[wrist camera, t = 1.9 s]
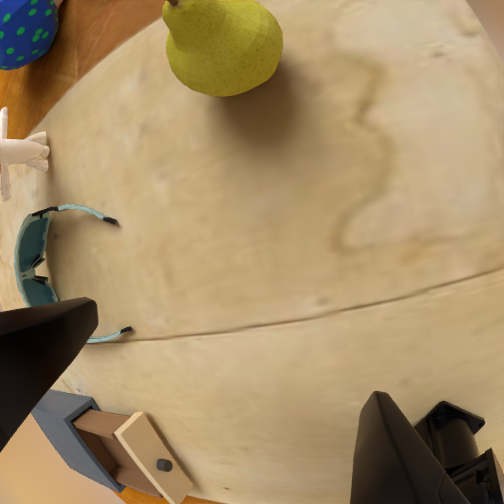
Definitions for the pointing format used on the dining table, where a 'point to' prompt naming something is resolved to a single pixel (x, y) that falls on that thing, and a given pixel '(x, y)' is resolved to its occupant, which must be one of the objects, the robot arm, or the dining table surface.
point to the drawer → (132, 453)
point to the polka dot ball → (26, 30)
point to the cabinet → (71, 434)
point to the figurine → (19, 153)
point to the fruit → (221, 44)
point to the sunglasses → (30, 257)
